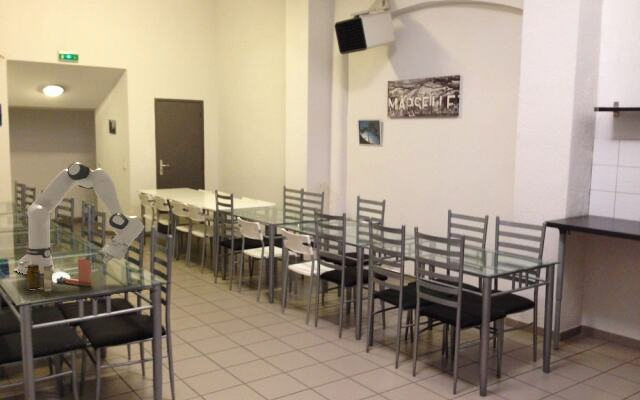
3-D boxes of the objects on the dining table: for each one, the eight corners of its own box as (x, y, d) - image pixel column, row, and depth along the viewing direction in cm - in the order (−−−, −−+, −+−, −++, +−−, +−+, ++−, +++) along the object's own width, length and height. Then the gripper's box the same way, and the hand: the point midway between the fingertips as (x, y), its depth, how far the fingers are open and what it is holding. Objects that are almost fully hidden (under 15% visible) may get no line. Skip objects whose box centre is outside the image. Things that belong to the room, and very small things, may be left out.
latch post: (45, 289, 293) (44, 264, 292) (53, 289, 294) (52, 264, 292) (43, 291, 290) (42, 266, 288) (51, 291, 290) (50, 266, 289)
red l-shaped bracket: (65, 283, 305) (64, 254, 304) (67, 282, 307) (67, 253, 305) (89, 286, 300) (88, 257, 298) (91, 285, 302) (91, 256, 300)
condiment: (38, 285, 300) (37, 263, 299) (44, 288, 294) (44, 266, 293) (23, 288, 295) (22, 265, 293) (29, 291, 289) (29, 268, 288)
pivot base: (54, 282, 306) (54, 277, 306) (61, 280, 310) (61, 275, 310) (61, 284, 304) (61, 278, 304) (68, 281, 309) (68, 276, 308)
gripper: (133, 249, 306) (115, 269, 301) (118, 243, 321) (101, 262, 316) (125, 241, 303) (107, 262, 297) (110, 236, 318) (92, 255, 313)
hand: (104, 262), depth 307 cm, fingers closed
